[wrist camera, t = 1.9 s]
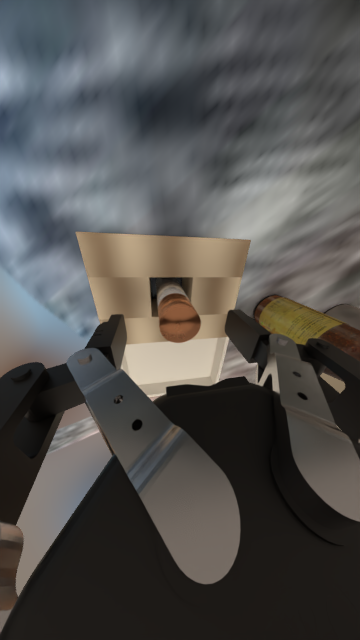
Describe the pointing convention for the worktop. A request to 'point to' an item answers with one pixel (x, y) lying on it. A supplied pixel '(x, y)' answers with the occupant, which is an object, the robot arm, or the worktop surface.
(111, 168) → the worktop surface
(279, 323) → the sauce bottle
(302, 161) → the worktop surface
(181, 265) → the block
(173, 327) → the copper and grey cylinder
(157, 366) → the tray
